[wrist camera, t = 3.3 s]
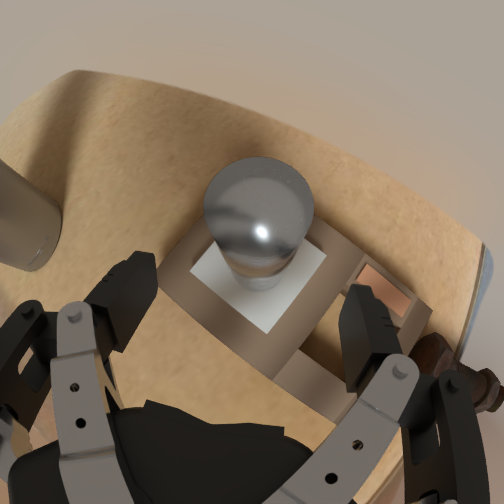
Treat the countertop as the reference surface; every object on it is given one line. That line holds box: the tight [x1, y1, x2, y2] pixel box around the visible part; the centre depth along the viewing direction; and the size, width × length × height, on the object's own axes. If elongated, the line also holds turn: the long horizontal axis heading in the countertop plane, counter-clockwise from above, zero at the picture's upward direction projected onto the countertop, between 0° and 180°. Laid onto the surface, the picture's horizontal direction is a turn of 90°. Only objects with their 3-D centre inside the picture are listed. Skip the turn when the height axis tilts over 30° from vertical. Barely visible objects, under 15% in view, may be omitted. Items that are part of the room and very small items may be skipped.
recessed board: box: [156, 214, 433, 424], centre depth 21 cm, size 20×12×4 cm, turn 51°
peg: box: [203, 157, 314, 292], centre depth 15 cm, size 4×4×10 cm
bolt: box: [408, 332, 504, 414], centre depth 18 cm, size 6×5×15 cm
